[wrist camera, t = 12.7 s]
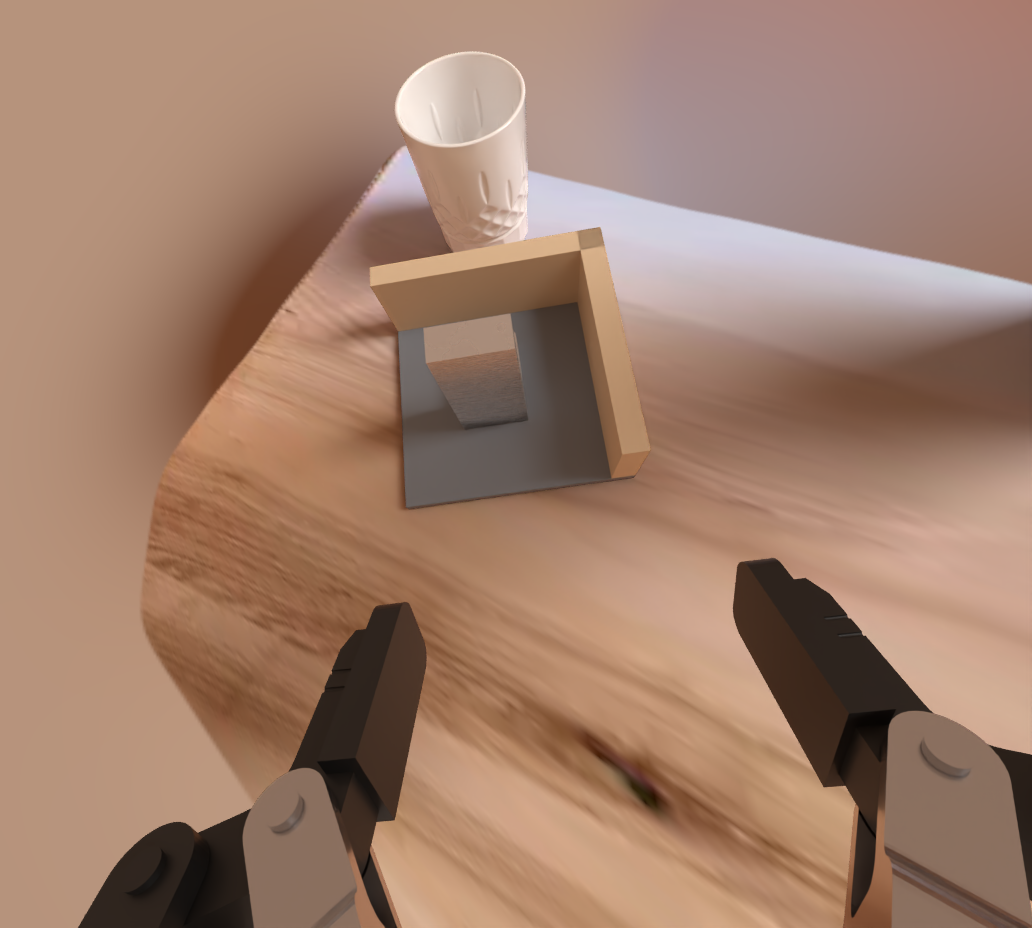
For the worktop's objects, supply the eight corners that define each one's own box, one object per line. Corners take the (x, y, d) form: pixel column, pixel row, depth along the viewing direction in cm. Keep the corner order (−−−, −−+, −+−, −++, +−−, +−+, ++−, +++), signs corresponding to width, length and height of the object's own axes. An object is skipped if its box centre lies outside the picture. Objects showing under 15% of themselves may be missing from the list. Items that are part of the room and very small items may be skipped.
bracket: (517, 344, 31) (501, 248, 22) (528, 420, 29) (515, 348, 21) (457, 353, 31) (418, 263, 23) (464, 430, 30) (425, 363, 21)
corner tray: (593, 287, 33) (600, 227, 27) (633, 477, 28) (650, 450, 23) (400, 319, 33) (369, 267, 28) (408, 509, 29) (374, 489, 24)
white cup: (452, 284, 34) (409, 163, 24) (429, 211, 36) (382, 75, 27) (548, 253, 34) (542, 120, 24) (518, 182, 36) (503, 35, 27)
